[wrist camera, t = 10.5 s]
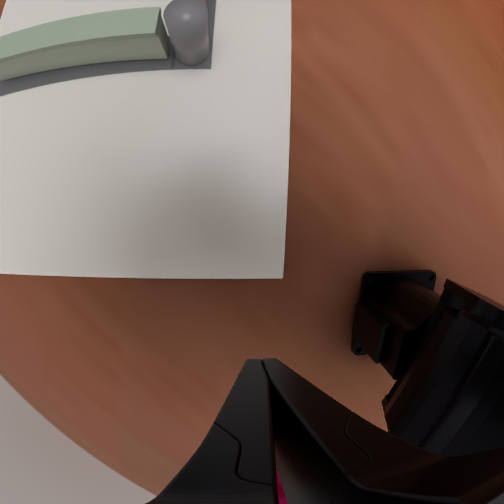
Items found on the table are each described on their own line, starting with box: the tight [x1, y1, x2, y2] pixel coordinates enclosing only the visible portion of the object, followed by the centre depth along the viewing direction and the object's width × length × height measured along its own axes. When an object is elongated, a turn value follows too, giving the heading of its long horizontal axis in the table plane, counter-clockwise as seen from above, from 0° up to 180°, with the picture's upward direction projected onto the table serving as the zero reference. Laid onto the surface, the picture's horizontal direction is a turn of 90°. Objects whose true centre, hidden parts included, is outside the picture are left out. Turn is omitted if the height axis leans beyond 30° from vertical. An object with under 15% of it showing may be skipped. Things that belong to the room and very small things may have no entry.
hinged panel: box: [0, 7, 170, 81], centre depth 13 cm, size 12×2×4 cm, turn 86°
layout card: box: [0, 0, 291, 279], centre depth 14 cm, size 22×26×6 cm
